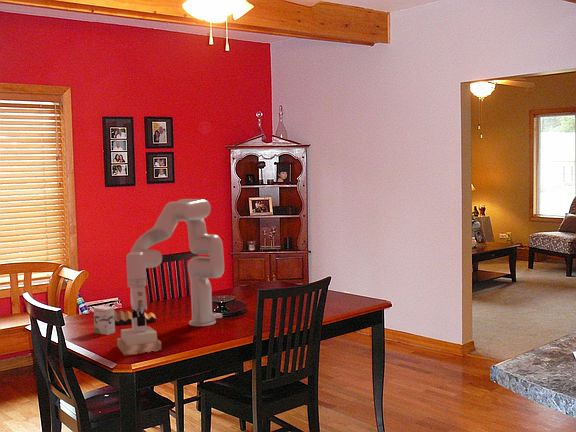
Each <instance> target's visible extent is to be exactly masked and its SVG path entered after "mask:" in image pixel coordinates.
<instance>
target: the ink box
mask: <svg viewBox="0 0 576 432" xmlns="http://www.w3.org/2000/svg"><path fill="white" fill-rule="evenodd" d="M114 311H115V307H114V306H108V305H98V306H95V307H93V330H94V331H93V333H94V334H99V335H105V336H106V335H107V336H109V335H111V334H114V333H115V334H116V328H115V327H116V326H115V320H114Z"/></svg>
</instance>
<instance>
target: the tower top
mask: <svg viewBox="0 0 576 432" xmlns="http://www.w3.org/2000/svg"><path fill="white" fill-rule="evenodd" d="M120 338H121V339H122V340H123V341H124V343H125V344H126V345H127V346H131V345H138V344H145V343H152V342H157V339H158V334H157V331H156V330H155V329H154V328H152V327H151V326H150V325H146V331H145V332H136V333H134V332H133V330H132V327H131V328H125V329H124V328H122V329H120Z"/></svg>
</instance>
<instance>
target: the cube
mask: <svg viewBox="0 0 576 432" xmlns="http://www.w3.org/2000/svg"><path fill="white" fill-rule="evenodd" d="M146 326H147V323H146V319H145V326H137V318H132V324H131V328H132V330H133V332H134V333H136V332H145V331H146Z"/></svg>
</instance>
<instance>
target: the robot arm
mask: <svg viewBox="0 0 576 432" xmlns="http://www.w3.org/2000/svg"><path fill="white" fill-rule="evenodd" d="M211 207H212V205H211V204H210V202H209V200H206V199H202V198H201V199H200V198H182V199H178V200H177V201H169V202H167V203H166V204H165V205H164V207H163V209H162V210H161V213H160V214H159V215H158V217H157V220H156V221H155V223H154V225H153V227H152V228H150V229H148V230H147V231H145V232H144V233H143V234H142V235H140V236H139V237H138V238H137V240H136V241H135V242H134V244H132V245H133V246H132V248H131V249H130V250H129V251H130V252H129V253H127V254H126V256H125V257H126V276H127V277H126V278H127V288H130V289H129V290H130V306H131V309H132V311H131V313H132V318H137V326H145V313H146V312H145V311H147V310H148V303H147V294H146V288H145V287H146V286H147V271H146V270H147V269H150V268H151V269H152V268H153V269H154V268H157V267H158V266H160V265H161V263H162V261H163V255H162V253H161V252H160V251H159V250H157V249H149V248H151V247H152V246H155V244H158V243H161V242H164V241H166V240H168V239H169V238H171V237H172V236H173V233H174V231H175V229H176V227H178V224H179V222H185V225H186V226H187V233H188V234H187V236H188V246H189V247H188V248H189V250H190V252H191V254H194V255H203V256H194V257H192V258H190V259H189V260H188V263H187V272H188V275H189V281H190V300H191V320H189V321H188V325H190V327H191V326H192V327H208V326H209V327H210V326H214V325H215V324H216V323H217V320H216V319H223V313H214V312H213V298H212V284H211V281H210V280H209V279H218V278H221V277H223V274H224V273H225V258H224V257H225V255H224V253H225V252H224V245H223V244H224V243H223V240H222V238H221V237H220V236H219V235H217V234H214V233H212V234H211V233H208V231H207V225H206V221H205V219H206V218H207V217H208V216H209V215H210V213H211V209H212V208H211ZM144 312H145V313H144Z"/></svg>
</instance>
